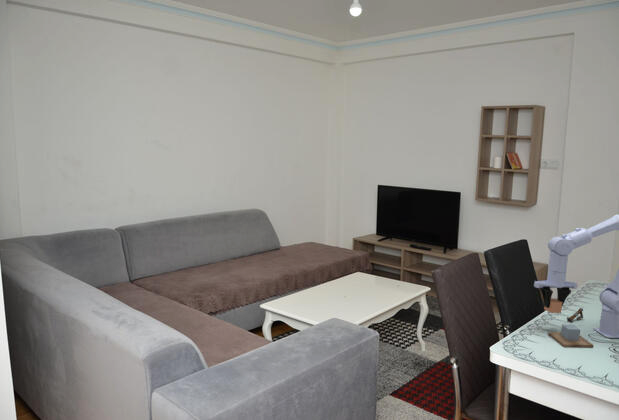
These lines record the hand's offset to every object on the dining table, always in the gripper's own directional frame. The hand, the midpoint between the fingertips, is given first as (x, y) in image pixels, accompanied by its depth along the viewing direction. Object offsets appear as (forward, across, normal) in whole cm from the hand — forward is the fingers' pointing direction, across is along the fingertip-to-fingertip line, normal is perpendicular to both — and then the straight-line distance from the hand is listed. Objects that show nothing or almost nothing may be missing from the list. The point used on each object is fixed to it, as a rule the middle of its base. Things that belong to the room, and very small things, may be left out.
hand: (552, 307), depth 169 cm
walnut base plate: (+9, -2, +9) cm, 13 cm away
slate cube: (+8, -2, +9) cm, 12 cm away
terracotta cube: (+1, 0, 0) cm, 1 cm away
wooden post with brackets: (+9, -15, -11) cm, 21 cm away
